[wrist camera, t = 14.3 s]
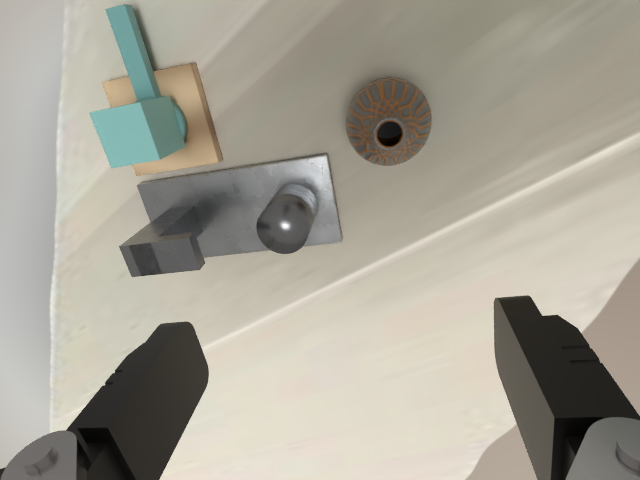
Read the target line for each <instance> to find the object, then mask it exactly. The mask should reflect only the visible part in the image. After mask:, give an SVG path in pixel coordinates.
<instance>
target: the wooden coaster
mask: <svg viewBox="0 0 640 480" xmlns="http://www.w3.org/2000/svg"><path fill="white" fill-rule="evenodd" d="M153 72H154V76H155V79H156V82H157V85H158V88H159V91H160V94H161V96H170V99H171V100H173V101H174V102H175V103H176V104H177V105H178V106H179V107H180V108H181V109H182V111H183V112H184V114H185V117H186V120H187V124H188V133H187V137H186V139H185V141H184V143H185V146H186V147H184V148H182V149H180V150H178V151H176V152H174V153H172V154H170V155H169V156H167V157H165V158H163V159H161V160H156V161H150V162H144V163H138V164H133V168H134V170H135V173H136V176H138V175H144V174H150V173H157V172H163V171H169V170H175V169H182V168H188V167H194V166H201V165H207V164H213V163H219V162H220V161H222V160H223V158H222V155H221V151H220V148H219V144H218V140H217V137H216V133H215V130H214V126H213V123H212V119H211V116H210V112H209V108H208V105H207V101H206V98H205V94H204V91H203V87H202V84H201V80H200V77H199V73H198V69H197V66H196V63H190V64H186V65H181V66H176V67H172V68H167V69H162V70H157V71H153ZM102 85H103V87H104V90H105V93H106V95H107V98H108V101H109V103H110V106H111V108H113V107H117V106H122V105H126V104H131V103H135V102H136V101H137V98H136V95H135V92H134V89H133V86H132V84H131V81H130V78H129V77H125V78H120V79H115V80H111V81H106V82H102Z"/></svg>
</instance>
